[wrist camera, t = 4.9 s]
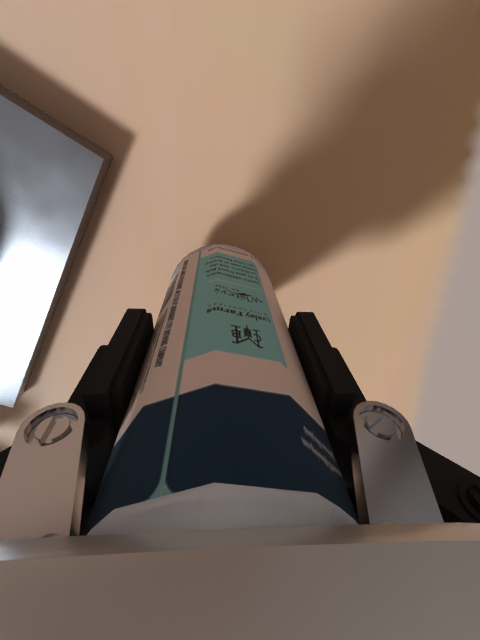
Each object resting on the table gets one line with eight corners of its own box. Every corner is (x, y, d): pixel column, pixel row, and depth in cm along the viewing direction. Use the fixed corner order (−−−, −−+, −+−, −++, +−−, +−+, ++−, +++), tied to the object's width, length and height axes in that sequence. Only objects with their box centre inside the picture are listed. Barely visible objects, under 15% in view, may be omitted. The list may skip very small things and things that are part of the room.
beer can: (195, 340, 16) (154, 698, 6) (153, 262, 13) (-53, 643, 3) (280, 312, 15) (404, 657, 5) (251, 224, 13) (377, 550, 3)
